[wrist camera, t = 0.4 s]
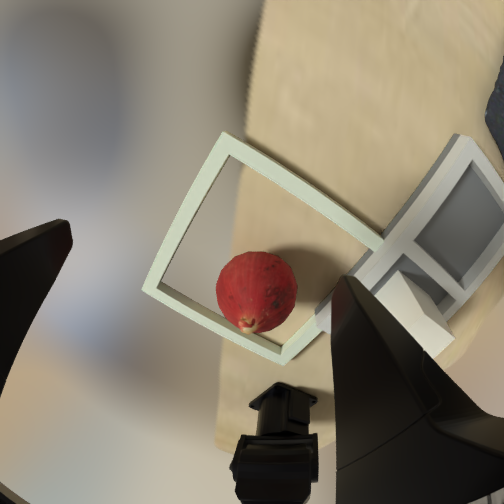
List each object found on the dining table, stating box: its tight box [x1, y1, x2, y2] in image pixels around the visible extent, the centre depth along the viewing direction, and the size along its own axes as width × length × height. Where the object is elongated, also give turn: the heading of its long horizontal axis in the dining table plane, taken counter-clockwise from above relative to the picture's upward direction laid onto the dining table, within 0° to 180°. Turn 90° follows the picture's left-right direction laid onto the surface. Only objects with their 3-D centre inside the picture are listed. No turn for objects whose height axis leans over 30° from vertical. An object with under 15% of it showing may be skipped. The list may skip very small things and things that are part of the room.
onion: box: [216, 252, 298, 335], centre depth 20 cm, size 6×6×8 cm
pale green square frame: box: [142, 131, 384, 366], centre depth 23 cm, size 16×16×1 cm
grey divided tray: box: [315, 134, 504, 335], centre depth 21 cm, size 20×11×2 cm, turn 149°
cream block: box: [374, 270, 455, 359], centre depth 20 cm, size 5×5×6 cm
